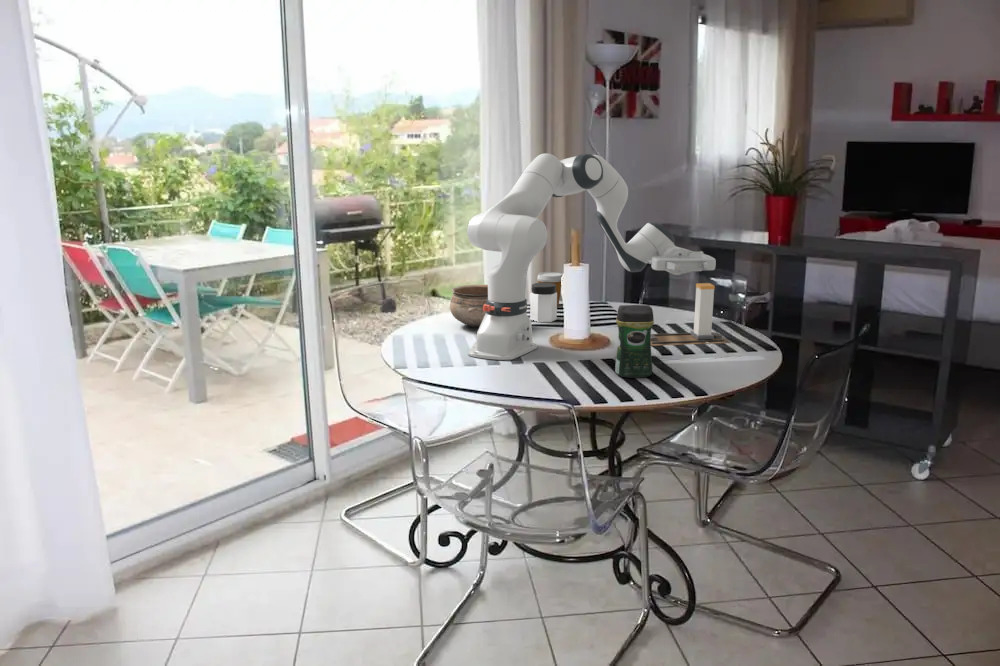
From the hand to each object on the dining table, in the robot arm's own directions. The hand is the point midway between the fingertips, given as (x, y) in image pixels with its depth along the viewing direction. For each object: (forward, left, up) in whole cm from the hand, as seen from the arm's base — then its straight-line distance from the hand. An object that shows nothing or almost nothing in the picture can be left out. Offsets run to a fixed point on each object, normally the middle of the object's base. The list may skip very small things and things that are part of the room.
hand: (691, 267), depth 249 cm
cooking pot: (-15, +65, -21) cm, 70 cm away
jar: (+1, +48, -21) cm, 53 cm away
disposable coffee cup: (+21, +52, -21) cm, 60 cm away
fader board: (-13, 0, -21) cm, 25 cm away
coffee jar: (-50, +7, -21) cm, 55 cm away
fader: (-10, -6, -20) cm, 23 cm away
